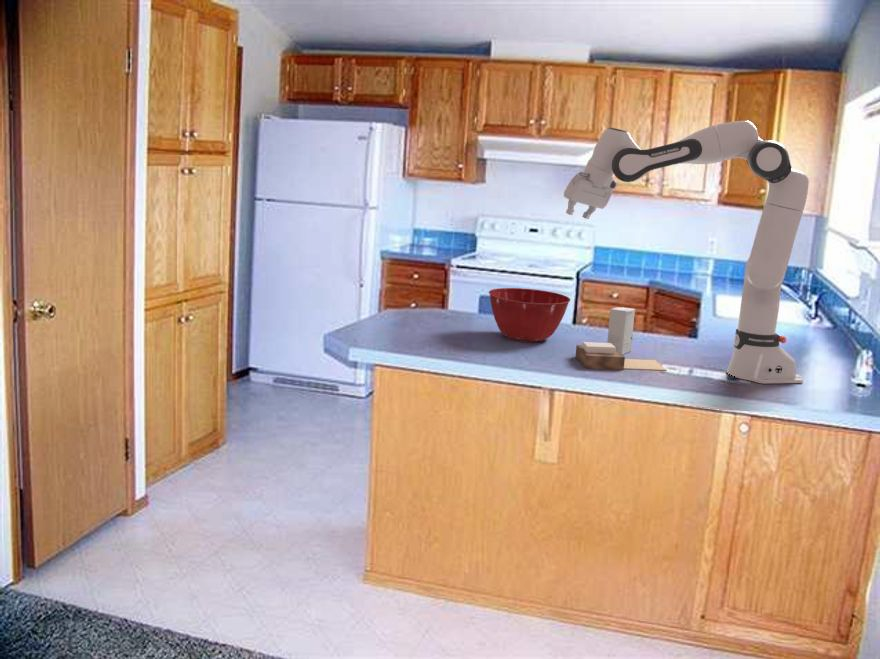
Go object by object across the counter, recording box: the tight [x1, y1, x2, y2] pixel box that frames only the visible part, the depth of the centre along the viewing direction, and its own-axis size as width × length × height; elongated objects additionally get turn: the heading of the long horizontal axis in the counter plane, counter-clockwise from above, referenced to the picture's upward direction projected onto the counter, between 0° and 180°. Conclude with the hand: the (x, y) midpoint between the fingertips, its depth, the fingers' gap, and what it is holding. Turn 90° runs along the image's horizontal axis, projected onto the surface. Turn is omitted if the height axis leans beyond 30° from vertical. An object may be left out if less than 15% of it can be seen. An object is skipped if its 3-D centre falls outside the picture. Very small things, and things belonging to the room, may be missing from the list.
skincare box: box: [606, 306, 636, 356], centre depth 293 cm, size 8×6×15 cm
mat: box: [624, 358, 667, 371], centre depth 278 cm, size 14×12×1 cm
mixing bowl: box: [488, 287, 571, 343], centre depth 305 cm, size 28×28×15 cm
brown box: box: [575, 344, 626, 371], centre depth 276 cm, size 12×14×4 cm
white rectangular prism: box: [582, 341, 616, 354], centre depth 276 cm, size 9×6×2 cm, turn 94°
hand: (577, 216), depth 281 cm, fingers open, 8 cm apart
